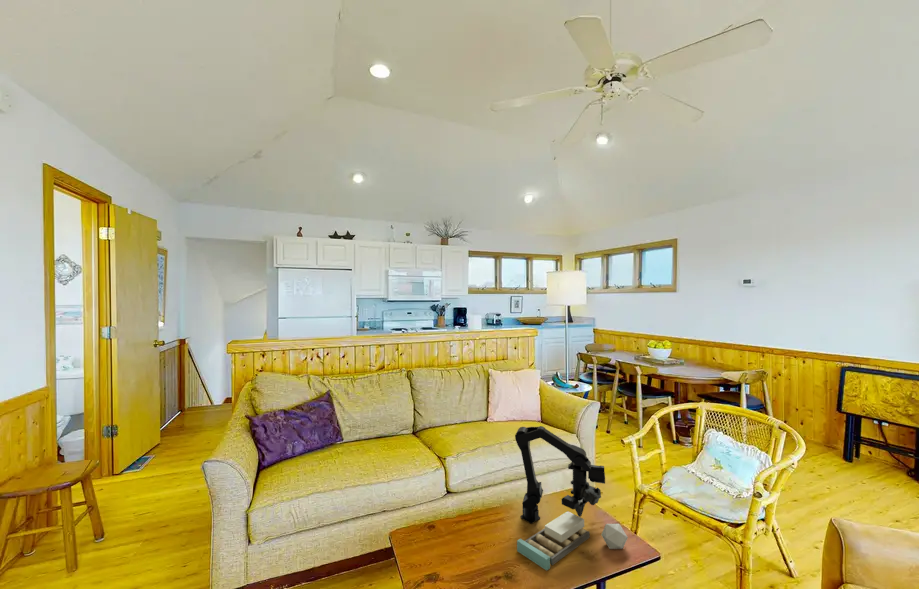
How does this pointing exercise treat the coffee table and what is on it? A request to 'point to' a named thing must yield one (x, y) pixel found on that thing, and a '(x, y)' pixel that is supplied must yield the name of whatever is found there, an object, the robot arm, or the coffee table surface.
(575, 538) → the roller bed
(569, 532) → the slab
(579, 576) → the coffee table surface
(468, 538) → the coffee table surface
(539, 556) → the stop bar
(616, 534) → the die
